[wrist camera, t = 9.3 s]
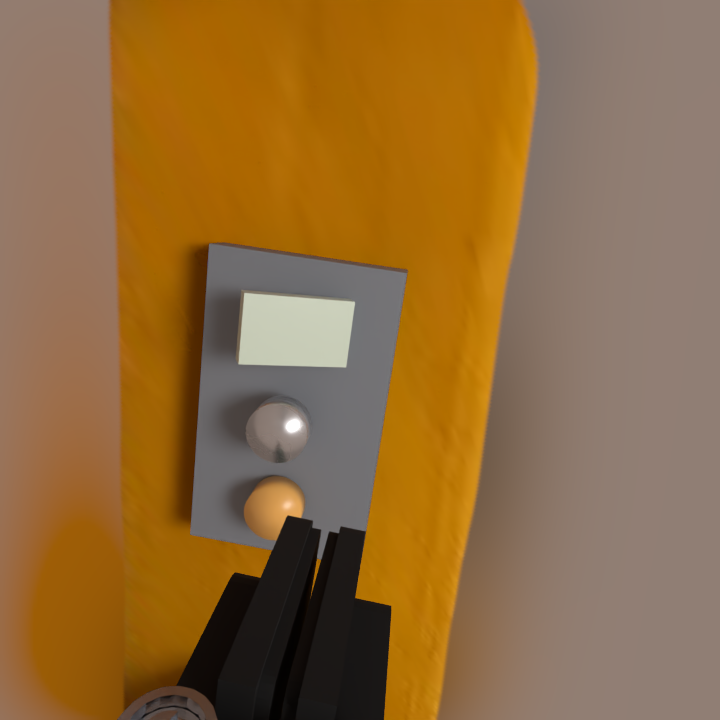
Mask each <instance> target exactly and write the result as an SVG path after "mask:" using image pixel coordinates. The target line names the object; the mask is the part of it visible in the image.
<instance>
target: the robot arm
mask: <svg viewBox="0 0 720 720" xmlns="http://www.w3.org/2000/svg"><path fill="white" fill-rule="evenodd" d="M312 527H313V520H308V519H303V518H299V517H294V516H289V515H288V516H287V517H286V519H285V522H284V524H283V526H282V529H281V531H280V533H279V536H278V538H277V541H276V543H275V545H274V548H273V550H272V552H271V555H270V557H269V560H268V562H267V564H266V567H265V569H264V571H263V574H262V576H261V578H258V577H254V576H249V575H244V574H240V573H234V574H233V575H232V577H231V578H230V580H229V582H228V584H227V586H226V588H225V590H224V592H223V594H222V596H221V598H220V600H219V602H218V604H217V606H216V608H215V610H214V612H213V614H212V616H211V618H210V620H209V622H208V624H207V626H206V628H205V630H204V632H203V634H202V636H201V638H200V640H199V642H198V644H197V646H196V648H195V650H194V652H193V654H192V656H191V658H190V660H189V662H188V664H187V666H186V668H185V670H184V672H183V674H182V676H181V678H180V680H179V682H178V684H177V686H171V687H162V688H159V689H156V690H153V691H150V692H148V693H146V694H145V695H143V696H141V697H140V698H138V699H137V700H135V701H134V702H133V703H132V704H131V705H130V706H129V707H128V708H127V709H126V710H125V711H124V712H123V713H122V714H121V716H120V717H119V718H118V719H117V720H384V709H385V694H386V680H387V666H388V651H389V637H390V622H391V606H389V605H385V604H380V603H375V602H371V601H366V600H361V599H357V598H355V595H356V588H357V582H358V576H359V570H360V564H361V558H362V552H363V546H364V539H365V533H366V531H361V530H357V529H352V528H347V527H342V526H341V527H340V530H339V533H336V532H331V531H329V533H328V537H327V541H326V544H325V548H324V552H323V555H322V559H321V563H320V566H319V570H318V573H317V577H316V581H315V584H314V588H313V592H312V595H311V591H312V585H313V579H314V573H315V567H316V561H317V555H318V549H319V543H320V537H321V529H316V528H312ZM310 597H311V599H310Z"/></svg>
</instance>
